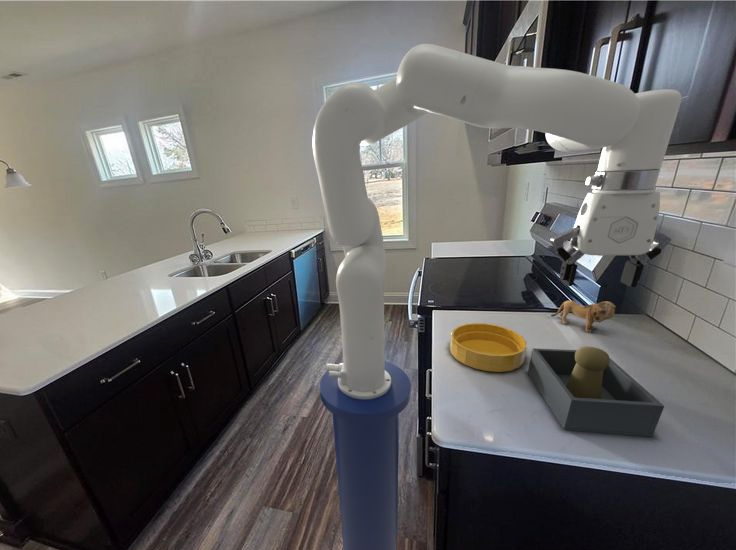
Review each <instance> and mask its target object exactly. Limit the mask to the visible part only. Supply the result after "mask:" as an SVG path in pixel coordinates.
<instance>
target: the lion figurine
mask: <svg viewBox="0 0 736 550" xmlns="http://www.w3.org/2000/svg"><path fill="white" fill-rule="evenodd" d="M562 309H563V310H562ZM615 311H616V305H614V303H612V302H611V301H601V302H597V303H592V304H588V305H582V304H580V303H577V302H576V301H574V300H566V301H564V302H562V304H561V305H560V307H559V308H558V310H557V311H556V313H553V314H551V315H550V317H551V318H552V317H553V318H554V317H556V316H557V315H559V316H558V317H559V319H562V324H564V325H568V324H569V322H568V321H567V319H566V318H567V316H568V315H569V314H570V313H572V314H573V315H574V316H575V317H576V318H580V319H581V320H582V319H583V320H585V331H586V332H587V333H592V330H594V329H595V327H594V325H593V324H594V323H599V324H600V323H602V322H603V321H607V320H610V319H612V317H614V316H615V314H616V313H615Z"/></svg>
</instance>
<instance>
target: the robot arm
mask: <svg viewBox="0 0 736 550" xmlns="http://www.w3.org/2000/svg"><path fill="white" fill-rule="evenodd" d="M681 102H682V94H681V93H680V91H679V90H677V89H673V88H672V89H671V88H667V89H665V88H664V89H653V90H646V91H641V92H636V93H635V92H634V91H633V90H632V89H631V88H629V87H627V86H626V85H624V84H621V83H619V82H616V81H613V80H610V79H606V78H602V77H599V76H596V75H592V74H588V73H584V72H580V71H577V70H576V71H575V70H569V69H561V68H549V67H534V66H524V65H510V64H504V63H500V62H497V61H494V60H490V59H488V58H487V59H486V58H483V57H480V56H476V55H472V54H470V53H466V52H462V51H458V50H455V49H452V48H449V47H448V48H447V47H445V46H441V45H438V44H434V43H421V44H420V43H419V44H418V45H415V46H413V47H412V48H411V49H409V50H408V51H407V53H405V55H404V56H403V57H402V59H401V61H400V63H399V66H398V69H397V73H396V76H395V77H393V78H391V79H390V80H389V81H387V82H385V83H384V84H382V85H379V87H376V88H375V89H373V87H371V86H370V85H368V84H365V83H363V82H360V81H351V82H347V83H345V84H342V85H341V86H339V87H338V88H337V89H335V90H334V91H333V92H332V93H331V94H330V95H329V96H328V97H327V98H326V100H325V101H324V102H323V104H322V105H321V107H320V109H319V111H318V113H317V116H316V117H315V121H314V124H313V131H312V154H313V159H314V160H313V161H314V164H315V165H314V166H315V169H316V174H317V178H318V183H319V188H320V194H321V198H322V203H323V208H324V212H325V215H326V221H327V227H328V231H329V234H330V236H331V238H332V239H333V241H334V242H335V243H337V244H338V245H339V246H341V247H342V249H343V254H344V258H343V260H342V261H341V263H340V264H339V267H338V269H337V272H336V275H335V276H336V278H335V285H336V294H337V300H338V306H339V317H340V331H341V347H342V362H343V363H341V362H339V363H340V364H339V365H336V364H335V363H326V366H325V372H326V371H327V372H329V377H338V386H339V388H340V390H341V391H342V392H343V393H344V394H345V395H347V396H349V397H352V398H355V399H363V400H367V399H374V398H378V397H380V396H382V395H384V394H385V393H387V392H388V390H389V389H390V387H391V377H390V375H389V373H388V372H387V371H385V361H386V360H385V354H386V353H385V296H384V295H385V293H384V291H385V277H386V271H387V265H388V263H387V261H388V260H387V254H386V248H385V242H384V237H383V232H382V225H381V220H380V215H379V214H380V213H379V211H378V208H377V206H376V205H375V203H374V202H373V200H371V199H370V198H369V196H368V191H367V186H366V181H365V174H364V168H363V165H362V160H361V159H362V158H361V146H369V145H372V144H374V143H377V142H379V141H381V140H383V139H385V138H386V137H388V136H390V135H392V134H393V133H395V132H397V131H399V130H401V129H403V128H405V127H406V126H408V125H409V124H412V123H414V122H415V121H417V120H419V119H420V118H422V117H423V116H425V115H426V114H429V113H431V114H435V115H440V116H442V117H446V118H448V119H452V120H455V121H459V122H461V123H464V124H468V125H471V126H474V127H477V128H484V129H491V130H493V129H494V130H497V129H498V130H499V129H520V130H521V129H522V130H529V131H535V132H539V133H544V134H545V140H546V142H547V144H548V145H549V146H550V147H551V148H553V149H554V150H556V151H559V152H563V153H574V152H582V151H587V150H589V151H590V150H599V149H601V153H600V157H599V161H598V166H597V170H596V172H595V174H594V175H592V176H588V177H587V178H586V180H585V185H586V186H591V189H592V191H591V192H589V191H588V192H587V194H586V196H585V197H584V200H583V202H582V204H581V207H580V209H579V211H578V214H577V217H576V219H575V222H574V226H573V227H572V228H570V229H568V230H566V231H563V232H562V233H559V234H556V235H555V236H552V237H550V243H551V246H552V248H553V252H554V253H555V254H556V256H557V257H558V258H559V259H560V261H562V264H561V268H560V272H559V280H560V282H561V283H562V284H564V285H565V286H567V287H572V286H574V282H575V278H576V274H577V271H578V265H577V264H576V262H578V260H580V259H581V258H582V257H583V256H584V255H588V256H628V257H629V259H630V260H626V261H625V263H624V266H623V270H622V274H621V276H620V280H619V282H620V283H622V284H624V285H625V286H628V287H630V288H636V287H637V285H638V282H639V281H640V280H641V276H642V273H643V270H644V267H645V266H647V265H649V264H650V262H651V260H653V259H654V258H657V256H659V255H660V254H661V253H662V250H664V249H665V248H666V247H667V246H668V245H669V244H670V243H671V242H672V238H671V237H670V236H668V235H666V234H665V233H663V232H660V231H659V230H657V226H658V221H659V215H660V207H661V205H660V204H661V191H657V190H656V191H655V188H656V185H657V182H658V179H659V175H660V173H661V169H662V165H663V162H664V159H665V155H666V153H667V149H668V146H669V144H670V140H671V136H672V133H673V130H674V126H675V124H676V120H677V116H678V114H679V110H680V107H681ZM567 241H570V242H569V243H570V248H568V249H567V250H566V249H565V247H564V243H566V242H567Z"/></svg>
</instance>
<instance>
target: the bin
mask: <svg viewBox="0 0 736 550" xmlns="http://www.w3.org/2000/svg"><path fill="white" fill-rule="evenodd" d="M577 350H578V349H561V348H560V349H559V348H557V349H556V348H535V347H533V348H532V349H531V355H530V358H529V359H530V360H529V364H528V369H527V374H528V376H529V378H530V379H531V381H532V382H533V384H534V385H535V387H536V388H537V390H538V392H539V394H540V395H541V396H542V398H543V400H544V402H545V403H546V404H547V406H548V407H549V409H550V410H551V412H552V413H553V415H554V416H555V418H556V420H557V422H558V423H559V424H560V425H561V427H562V429H563V430H564V431H573V432H586V433H587V432H588V433H599V434H611V435H623V436H634V437H635V436H637V437H648V438H649V437H650V438H653V436H654V434H655V431H656V429H657V426H658V424H659V421H660V418H661V416H662V413H663V411H664V409H665V405H664V404H663V403H662V402H661V401H659V400H658V399H657V398H656V397H655V396H654V395H653V394H652V393H650V392H649V391H648V390H647V389H646V388H644V387H643V385H641V384H640V383H639V382H638V381H637V380H636V379H634V378H633V377H632V375H630V374H629V373H627V371H625V370H624V368H622V367H621V366H620V365H619V364H617V363H616V361H614V360H613V359H612V358H610V363H609V365H608V366H607V368H606V369H604V370H603V379H602V390H601V399H588V398H574V396H573V395H572V394H571V393H570V391H569V390H568V389H567V387H566V384H567V382H568V380H569V378H570V376H571V373H572V371H573V369H574V367H575V365H576V363H577V362H576V361H575V352H576V351H577Z"/></svg>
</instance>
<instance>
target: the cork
mask: <svg viewBox="0 0 736 550" xmlns="http://www.w3.org/2000/svg"><path fill="white" fill-rule="evenodd" d="M576 350H577V351H576V352H575V361H576V362H577V363H576V365H575V367H574V369H573V371H572V373H571V376H570V378H569V380H568V382H567V384H566V387H567V389H568V390H569V391H570V393H571V394H572V395H573V396H574V398H588V399H601V390H602V379H603V370H604V369H606V368H607V366H608V365H609V363H610V359H611V357H610V355H609V354H608V353H607V352H606V351H604V350H603V349H601V348H600V347H599V348H598V347H596V346H587V345H586V346H580V347H579V348H578V349H576Z"/></svg>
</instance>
